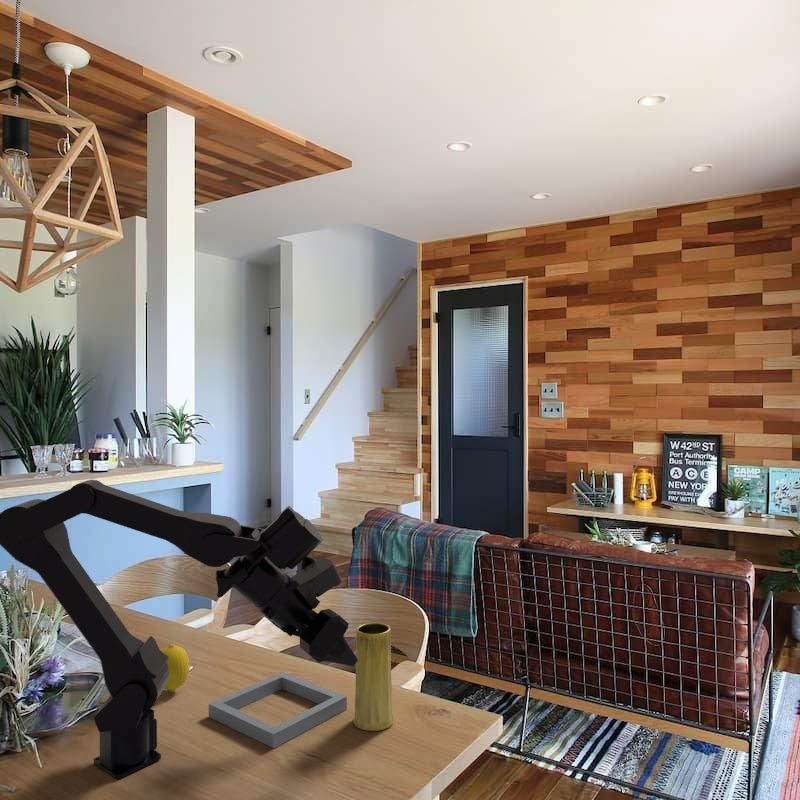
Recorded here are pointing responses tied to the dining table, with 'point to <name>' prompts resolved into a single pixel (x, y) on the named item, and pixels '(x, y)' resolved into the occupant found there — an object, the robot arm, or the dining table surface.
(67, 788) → the dining table surface
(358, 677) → the vase
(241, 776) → the dining table surface
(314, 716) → the stand
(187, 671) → the lemon
